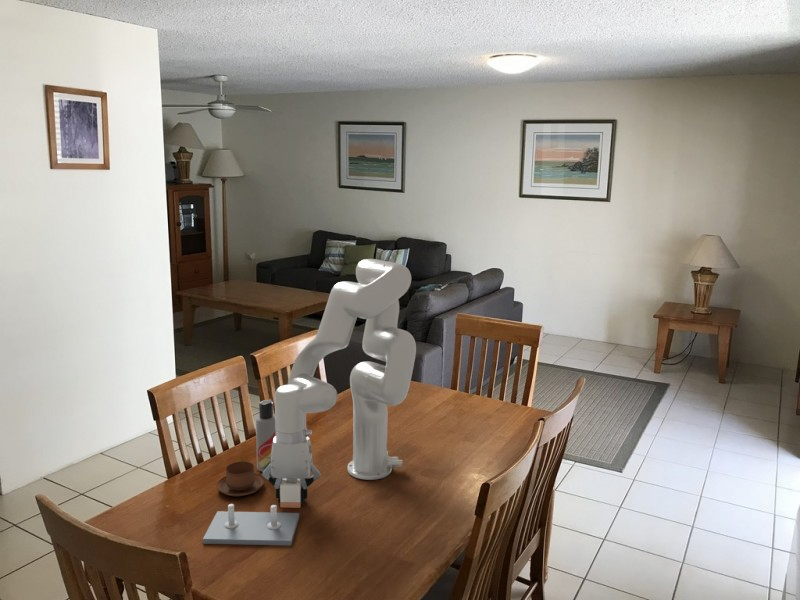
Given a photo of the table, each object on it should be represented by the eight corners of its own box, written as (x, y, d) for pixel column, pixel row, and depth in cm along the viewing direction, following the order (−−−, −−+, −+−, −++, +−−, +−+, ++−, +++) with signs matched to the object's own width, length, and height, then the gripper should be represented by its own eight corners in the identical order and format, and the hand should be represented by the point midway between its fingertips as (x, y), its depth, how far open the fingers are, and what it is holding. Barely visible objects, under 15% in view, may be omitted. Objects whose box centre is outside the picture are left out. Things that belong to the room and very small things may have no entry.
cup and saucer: (214, 482, 178) (213, 461, 177) (259, 475, 183) (258, 454, 181) (220, 504, 167) (220, 481, 166) (268, 495, 172) (267, 473, 171)
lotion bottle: (272, 473, 183) (271, 405, 179) (253, 471, 185) (252, 403, 180) (280, 464, 189) (279, 398, 185) (262, 462, 190) (260, 396, 186)
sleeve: (303, 497, 171) (302, 476, 169) (300, 507, 166) (299, 485, 165) (283, 497, 171) (283, 476, 169) (280, 507, 166) (279, 485, 165)
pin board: (299, 517, 161) (298, 494, 160) (291, 545, 150) (290, 520, 148) (217, 515, 161) (216, 492, 160) (203, 543, 150) (201, 518, 148)
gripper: (326, 429, 168) (326, 494, 172) (259, 427, 168) (261, 493, 172) (323, 441, 161) (323, 509, 164) (253, 439, 161) (255, 507, 164)
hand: (291, 500), depth 168 cm, fingers closed on sleeve, 5 cm apart
